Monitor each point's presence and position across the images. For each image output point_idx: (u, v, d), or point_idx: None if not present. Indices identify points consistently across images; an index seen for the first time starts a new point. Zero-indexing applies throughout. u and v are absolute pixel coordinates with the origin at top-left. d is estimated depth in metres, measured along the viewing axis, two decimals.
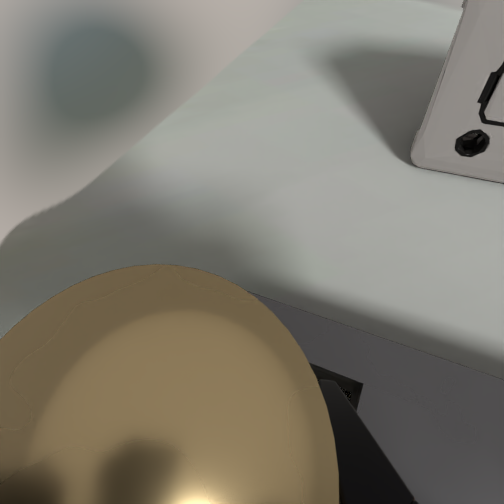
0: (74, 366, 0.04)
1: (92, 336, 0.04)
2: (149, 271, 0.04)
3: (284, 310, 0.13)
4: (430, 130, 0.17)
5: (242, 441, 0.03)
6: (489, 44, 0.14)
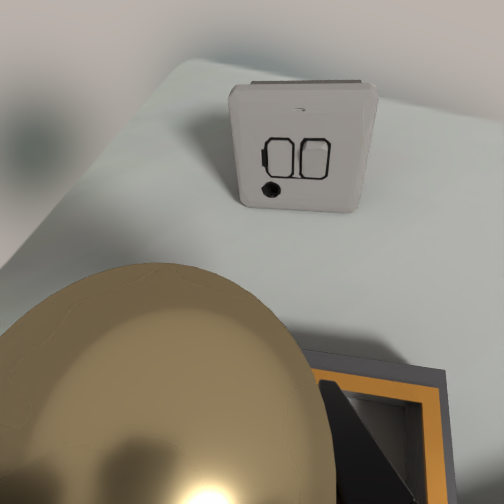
0: (73, 364, 0.04)
1: (92, 334, 0.04)
2: (148, 269, 0.04)
3: None
4: (244, 184, 0.25)
5: (240, 437, 0.03)
6: (252, 135, 0.22)
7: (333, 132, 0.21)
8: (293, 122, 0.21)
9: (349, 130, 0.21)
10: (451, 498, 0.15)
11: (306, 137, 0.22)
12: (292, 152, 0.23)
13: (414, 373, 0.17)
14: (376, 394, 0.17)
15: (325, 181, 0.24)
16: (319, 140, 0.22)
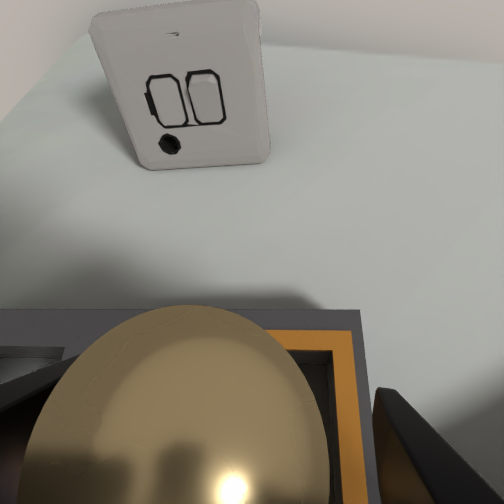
0: (131, 385, 0.05)
1: (144, 362, 0.05)
2: (185, 310, 0.06)
3: (10, 314, 0.16)
4: (138, 141, 0.22)
5: (260, 441, 0.05)
6: (128, 75, 0.19)
7: (218, 60, 0.18)
8: (170, 52, 0.18)
9: (234, 55, 0.18)
10: (370, 460, 0.12)
11: (189, 71, 0.19)
12: (179, 92, 0.20)
13: (324, 318, 0.14)
14: None
15: (225, 125, 0.21)
16: (206, 73, 0.19)
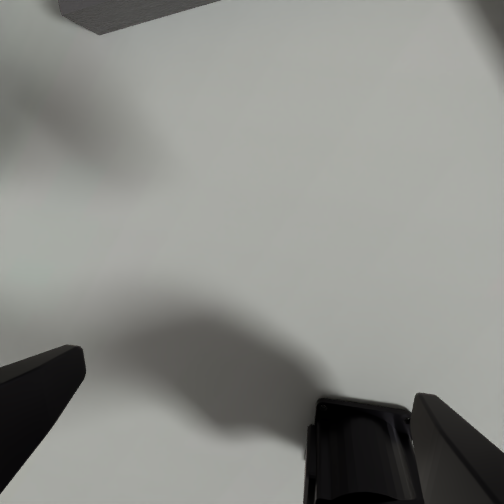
0: None
1: None
2: None
3: None
4: None
5: None
6: None
7: None
8: None
9: None
10: None
11: None
12: None
13: None
14: None
15: None
16: None
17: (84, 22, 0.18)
